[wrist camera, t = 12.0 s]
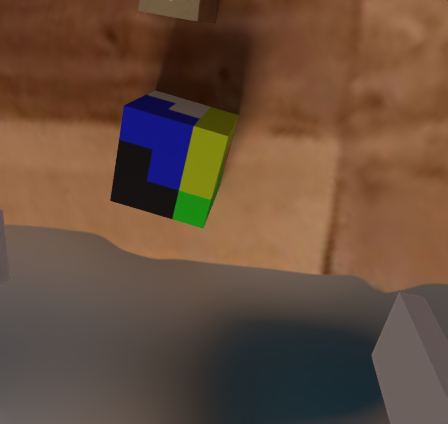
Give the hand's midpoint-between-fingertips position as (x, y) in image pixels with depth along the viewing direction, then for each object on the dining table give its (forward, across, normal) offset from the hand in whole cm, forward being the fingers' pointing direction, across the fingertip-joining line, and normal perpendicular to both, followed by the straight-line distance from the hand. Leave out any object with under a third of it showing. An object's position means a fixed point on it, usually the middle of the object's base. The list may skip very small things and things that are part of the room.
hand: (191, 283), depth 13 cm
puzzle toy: (+35, -7, -6) cm, 36 cm away
